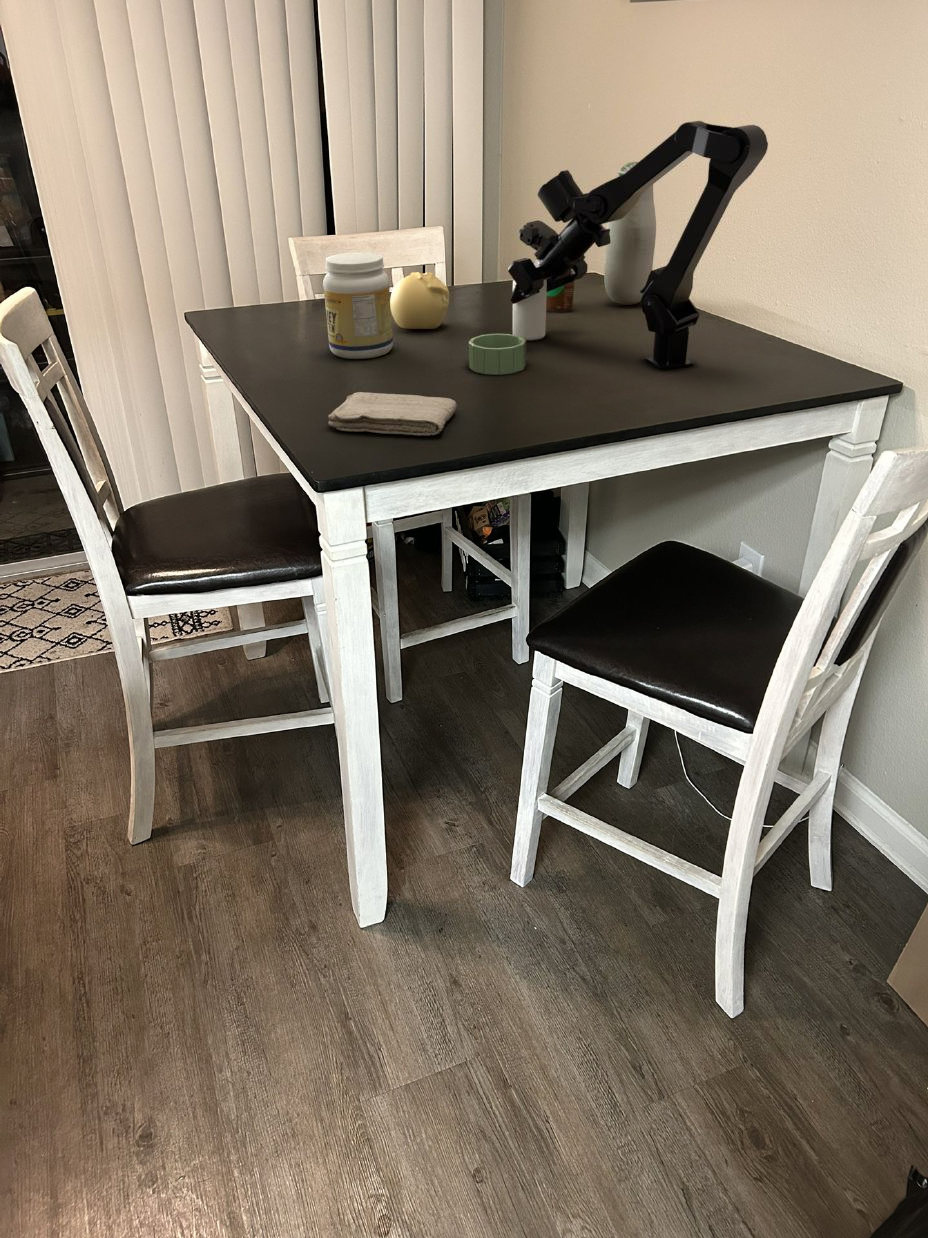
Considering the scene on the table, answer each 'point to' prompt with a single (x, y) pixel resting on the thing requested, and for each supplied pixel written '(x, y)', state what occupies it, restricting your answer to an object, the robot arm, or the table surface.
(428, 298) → the sculpture
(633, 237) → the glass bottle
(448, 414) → the washcloth
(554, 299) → the food container
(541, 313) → the can
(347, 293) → the supplement tub
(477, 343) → the segmented ring
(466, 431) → the table surface
